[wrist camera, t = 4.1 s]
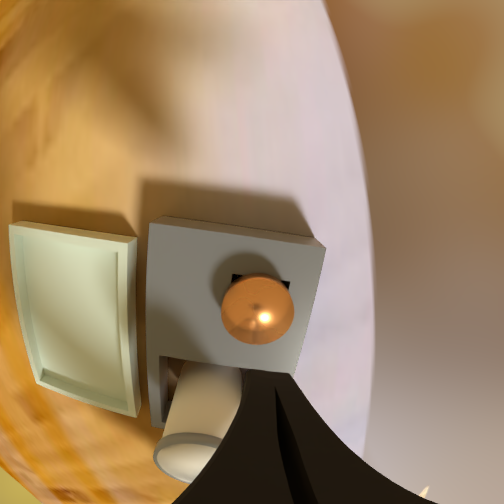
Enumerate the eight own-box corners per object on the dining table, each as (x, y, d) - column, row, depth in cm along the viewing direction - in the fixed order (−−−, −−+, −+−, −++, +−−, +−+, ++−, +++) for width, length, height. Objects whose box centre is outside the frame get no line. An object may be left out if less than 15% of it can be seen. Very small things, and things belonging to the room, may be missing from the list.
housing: (269, 419, 21) (271, 442, 18) (158, 405, 20) (151, 426, 18) (315, 237, 17) (326, 248, 15) (162, 215, 16) (149, 222, 14)
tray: (141, 405, 20) (136, 418, 19) (44, 373, 20) (36, 383, 18) (137, 237, 17) (128, 243, 15) (22, 220, 16) (8, 224, 15)
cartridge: (240, 403, 20) (239, 489, 12) (178, 395, 20) (156, 477, 12) (249, 355, 19) (252, 447, 11) (179, 345, 19) (149, 432, 11)
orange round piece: (279, 317, 18) (286, 348, 15) (222, 310, 18) (217, 340, 14) (290, 263, 17) (301, 284, 14) (229, 254, 17) (225, 274, 14)
